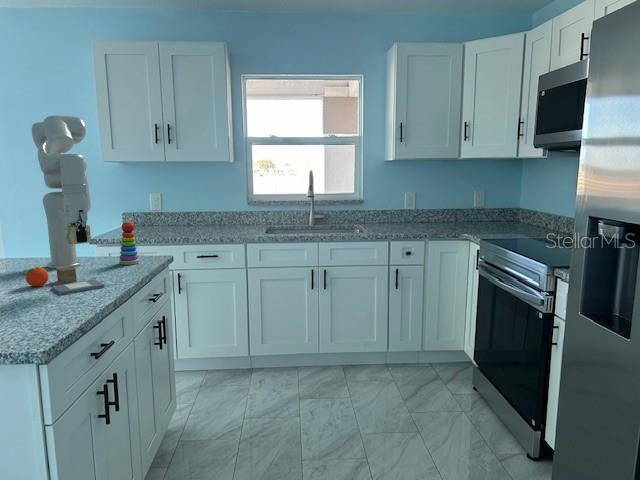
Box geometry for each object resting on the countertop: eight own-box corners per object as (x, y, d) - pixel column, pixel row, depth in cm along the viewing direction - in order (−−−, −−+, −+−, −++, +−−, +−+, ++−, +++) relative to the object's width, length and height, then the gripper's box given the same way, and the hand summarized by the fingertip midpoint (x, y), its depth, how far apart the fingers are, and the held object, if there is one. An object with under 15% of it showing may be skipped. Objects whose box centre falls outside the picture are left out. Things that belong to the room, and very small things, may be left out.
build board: (52, 289, 154) (51, 286, 154) (94, 281, 164) (94, 279, 164) (60, 295, 147) (60, 291, 147) (104, 287, 157) (104, 284, 157)
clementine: (29, 290, 152) (27, 270, 151) (19, 287, 156) (17, 268, 154) (53, 285, 159) (51, 266, 158) (43, 282, 162) (41, 263, 161)
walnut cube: (57, 281, 165) (56, 268, 164) (72, 279, 168) (71, 266, 167) (61, 284, 161) (60, 270, 160) (76, 281, 165) (75, 268, 164)
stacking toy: (131, 265, 191) (129, 222, 188) (115, 264, 192) (112, 222, 189) (142, 261, 198) (140, 220, 195) (126, 261, 200) (124, 220, 197)
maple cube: (67, 242, 156) (65, 225, 155) (85, 240, 160) (83, 224, 159) (72, 244, 152) (71, 227, 151) (91, 242, 156) (89, 225, 155)
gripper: (54, 189, 157) (59, 240, 159) (70, 191, 145) (75, 245, 147) (77, 189, 162) (81, 237, 165) (94, 190, 150) (99, 242, 153)
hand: (78, 240), depth 156 cm, fingers closed on maple cube, 6 cm apart
